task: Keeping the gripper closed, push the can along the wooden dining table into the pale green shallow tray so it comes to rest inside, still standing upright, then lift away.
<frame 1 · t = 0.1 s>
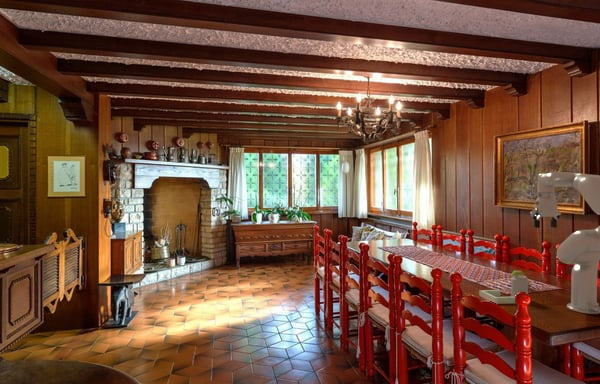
hand: (545, 227, 192), 37 cm above the table, tool pointing down, fingers open, 9 cm apart
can: (519, 299, 185), on the table
pale green shallow tray: (499, 299, 184), on the table
dumbbell: (519, 285, 212), on the table
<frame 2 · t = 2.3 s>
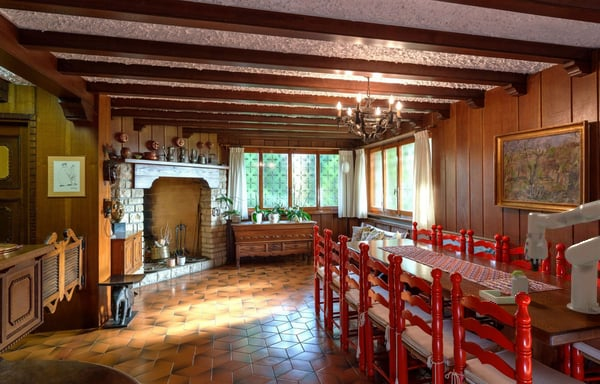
hand: (534, 270, 186), 14 cm above the table, tool pointing down, fingers closed
nothing on the table moved.
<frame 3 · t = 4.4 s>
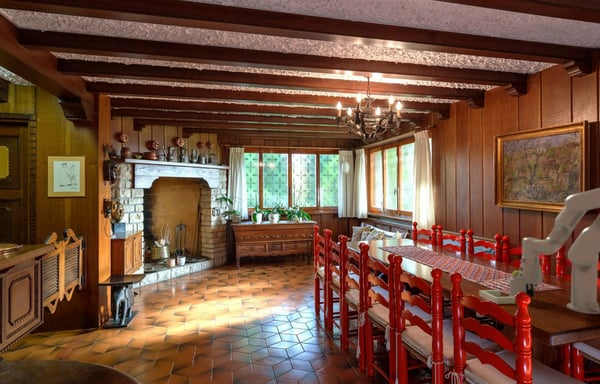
hand: (529, 296, 186), 1 cm above the table, tool pointing down, fingers closed
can: (517, 299, 185), on the table, touching gripper
everything else where it was.
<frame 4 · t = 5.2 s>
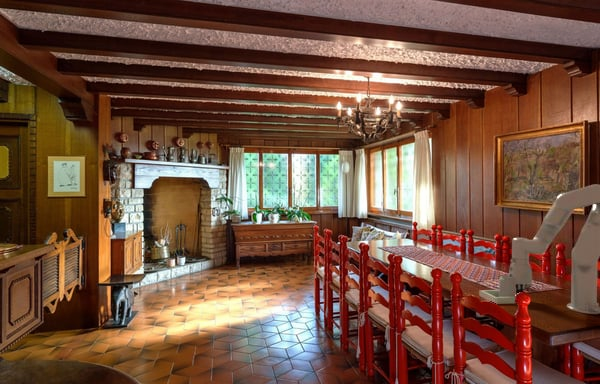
hand: (519, 296, 185), 1 cm above the table, tool pointing down, fingers closed
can: (507, 299, 185), on the table, touching gripper
everything else where it was.
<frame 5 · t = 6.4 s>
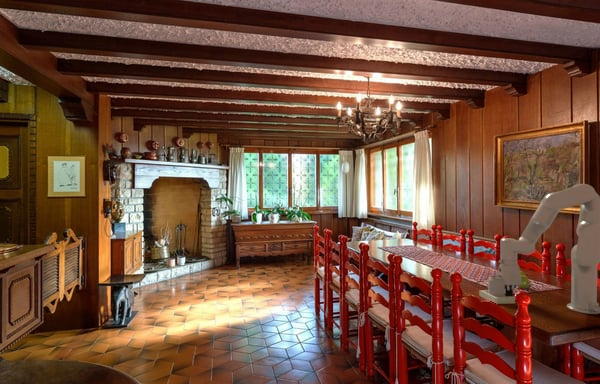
hand: (509, 297, 185), 1 cm above the table, tool pointing down, fingers closed
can: (496, 299, 184), on the table, touching gripper, pale green shallow tray
everything else where it was.
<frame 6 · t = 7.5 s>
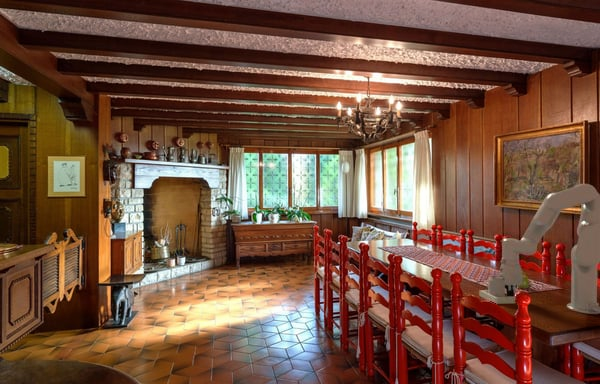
hand: (510, 297, 185), 1 cm above the table, tool pointing down, fingers closed
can: (496, 299, 184), on the table
everything else where it was.
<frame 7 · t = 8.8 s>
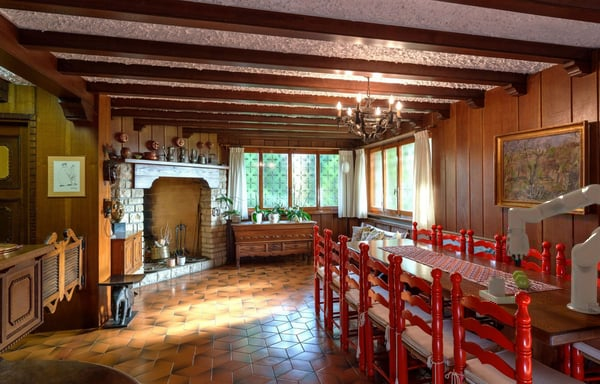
hand: (517, 266, 184), 17 cm above the table, tool pointing down, fingers closed
nothing on the table moved.
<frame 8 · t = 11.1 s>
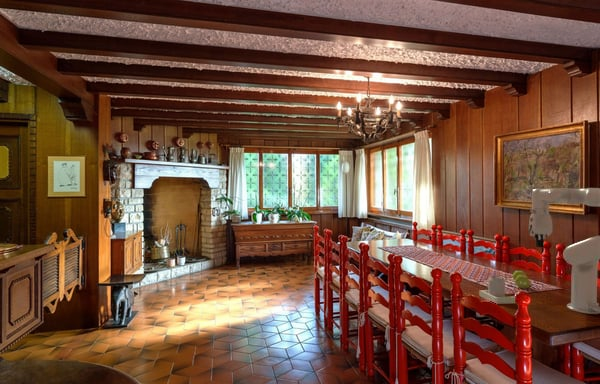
hand: (539, 246, 186), 27 cm above the table, tool pointing down, fingers closed
nothing on the table moved.
at the end: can 1.7 cm off-centre on the pale green shallow tray, point 0.0 cm above the pale green shallow tray's base; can tilted 0°; the gripper is holding nothing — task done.
